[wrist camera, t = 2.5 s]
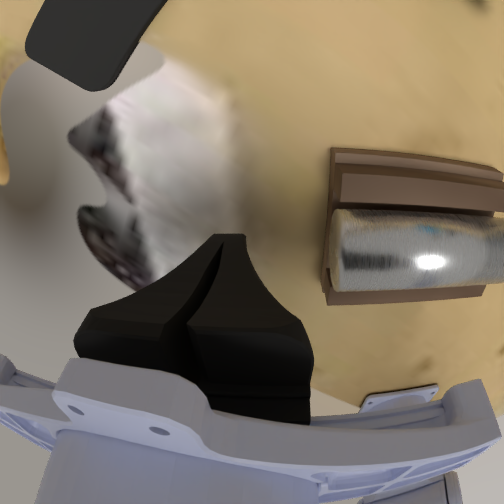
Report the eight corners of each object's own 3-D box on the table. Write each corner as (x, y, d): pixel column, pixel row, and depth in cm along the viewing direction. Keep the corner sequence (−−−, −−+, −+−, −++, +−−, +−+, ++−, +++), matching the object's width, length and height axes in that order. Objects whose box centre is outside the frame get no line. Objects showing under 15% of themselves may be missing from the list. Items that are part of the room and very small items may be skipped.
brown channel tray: (461, 277, 16) (478, 301, 14) (320, 281, 17) (326, 311, 15) (493, 167, 12) (519, 184, 10) (331, 147, 13) (343, 162, 10)
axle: (495, 207, 12) (531, 238, 9) (479, 260, 14) (507, 296, 11) (332, 196, 13) (350, 233, 10) (326, 261, 15) (338, 308, 12)
